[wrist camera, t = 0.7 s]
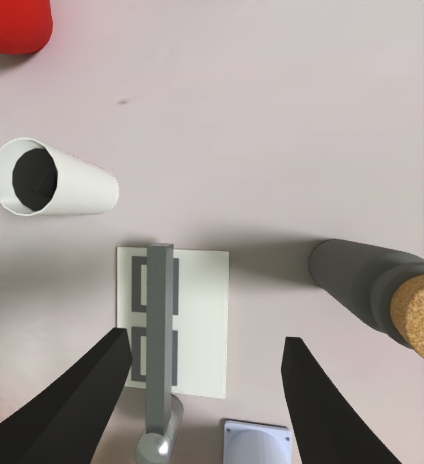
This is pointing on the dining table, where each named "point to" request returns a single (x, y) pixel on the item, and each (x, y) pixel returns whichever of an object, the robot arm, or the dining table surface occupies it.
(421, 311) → the bottle
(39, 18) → the ceramic cup
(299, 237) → the dining table surface
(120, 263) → the label board
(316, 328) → the dining table surface
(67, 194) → the white tumbler
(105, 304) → the dining table surface
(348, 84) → the dining table surface
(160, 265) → the swing arm
